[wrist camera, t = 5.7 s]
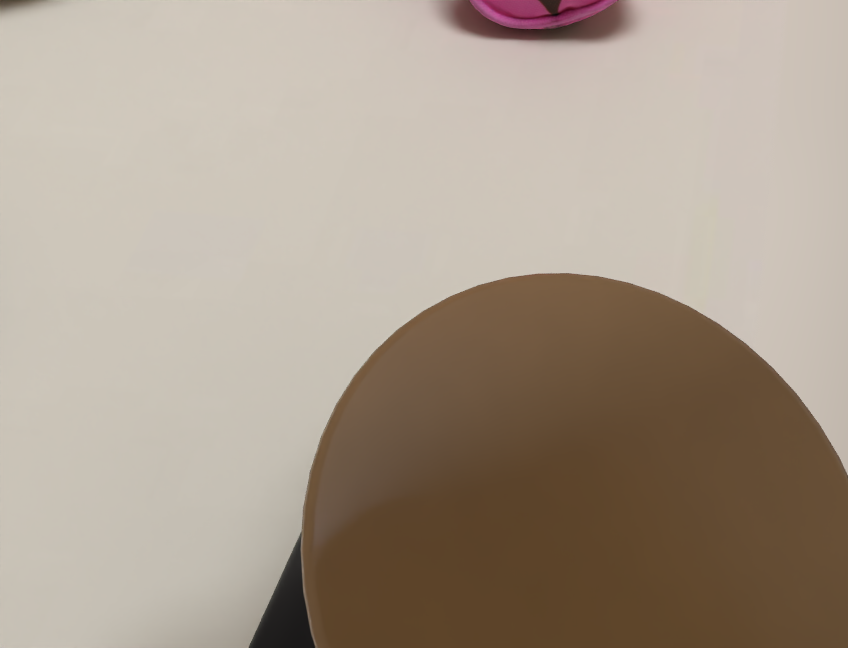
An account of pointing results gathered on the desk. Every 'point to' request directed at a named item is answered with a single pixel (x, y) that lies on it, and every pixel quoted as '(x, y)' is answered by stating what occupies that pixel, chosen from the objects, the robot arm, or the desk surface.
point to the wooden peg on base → (573, 484)
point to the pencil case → (539, 12)
